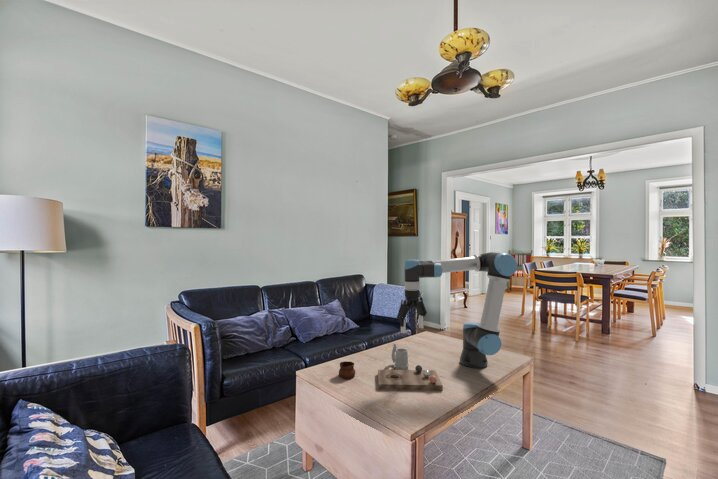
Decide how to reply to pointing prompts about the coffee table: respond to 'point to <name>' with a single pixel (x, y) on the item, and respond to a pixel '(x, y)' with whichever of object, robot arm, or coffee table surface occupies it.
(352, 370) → the ceramic pot
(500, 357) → the coffee table surface
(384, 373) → the deck
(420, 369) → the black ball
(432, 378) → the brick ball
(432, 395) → the coffee table surface
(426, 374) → the steel ball
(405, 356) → the mug
